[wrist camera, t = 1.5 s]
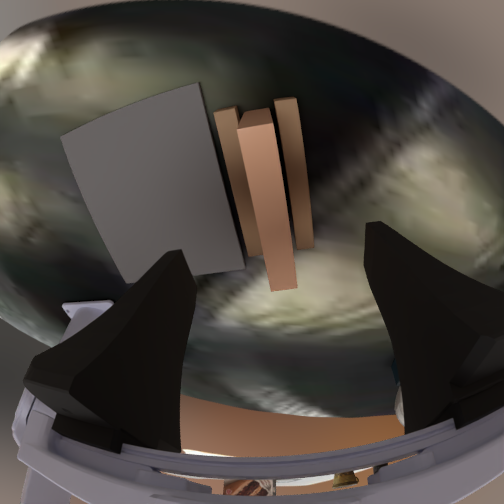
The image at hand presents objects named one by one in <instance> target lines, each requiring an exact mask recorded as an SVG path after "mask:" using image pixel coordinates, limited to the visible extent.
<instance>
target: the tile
mask: <svg viewBox="0 0 504 504" xmlns="http://www.w3.org/2000/svg"><path fill="white" fill-rule="evenodd" d="M237 133H238V138H239V142H240V147H241V152H242V156H243V161H244V165H245V170H246V174H247V179H248V184H249V188H250V193H251V198H252V202H253V207H254V212H255V216H256V221H257V226H258V231H259V235H260V240H261V245H262V250H263V255H264V259H265V264H266V269H267V274H268V279H269V284H270V288H271V291H279V290H287V289H294V288H297V279H296V271H295V263H294V255H293V247H292V239H291V232H290V225H289V218H288V211H287V204H286V197H285V191H284V184H283V178H282V172H281V165H280V159H279V153H278V147H277V142H276V136H275V130H274V125H273V121H272V117H271V113H270V110H269V108H264V109H258V110H252V111H246V112H244V114H243V116H242V118H241V121H240V123H239V125H238V127H237Z"/></svg>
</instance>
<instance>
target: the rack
mask: <svg viewBox="0 0 504 504" xmlns="http://www.w3.org/2000/svg"><path fill="white" fill-rule="evenodd" d="M273 100H274V106H275V111H276V117H277V122H278V128H279V134H280V139H281V145H282V152H283V158H284V164H285V170H286V177H287V184H288V190H289V197H290V204H291V211H292V219H293V226H294V234H295V241H296V246H297V250H300V249H308V248H314V238H313V226H312V215H311V205H310V195H309V186H308V177H307V169H306V161H305V153H304V145H303V138H302V131H301V125H300V118H299V112H298V105H297V99H296V98H295V97H286V98H278V99H273ZM214 117H215V121H216V125H217V129H218V134H219V138H220V142H221V146H222V150H223V154H224V158H225V162H226V166H227V171H228V175H229V179H230V183H231V187H232V191H233V195H234V199H235V203H236V207H237V211H238V215H239V220H240V224H241V228H242V232H243V236H244V240H245V244H246V248H247V252H248V256H249V257H250V256H257V255H263V250H262V245H261V240H260V235H259V231H258V226H257V221H256V216H255V212H254V207H253V202H252V198H251V193H250V188H249V184H248V179H247V174H246V170H245V165H244V161H243V156H242V152H241V147H240V142H239V138H238V133H237V127H238V125H239V123H240V117H239V112H238V108H237V106H232V107H227V108H222V109H218V110H216V111H215V112H214Z"/></svg>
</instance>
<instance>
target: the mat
mask: <svg viewBox="0 0 504 504" xmlns="http://www.w3.org/2000/svg"><path fill="white" fill-rule="evenodd" d="M60 138H61V141H62V144H63V147H64V150H65V153H66V155H67V158H68V161H69V163H70V166H71V169H72V171H73V174H74V176H75V179H76V181H77V184H78V186H79V189H80V191H81V194H82V196H83V198H84V200H85V203H86V205H87V207H88V209H89V212H90V214H91V216H92V218H93V220H94V223H95V225H96V227H97V229H98V231H99V233H100V235H101V237H102V239H103V241H104V243H105V245H106V247H107V249H108V251H109V253H110V255H111V257H112V258H113V260H114V262H115V264H116V266H117V268H118V269H119V271H120V273H121V275H122V277H123V278H124V280H125V282H126V283H134V282H137V281H138V280H139V279H140V278H141V277H142V276H143V275H144V274H145V273H146V272H147V271H148V270H149V269H150V268H151V267H152V266H153V265H154V264H155V263H156V262H157V261H158V260H159V259H160V258H161V257H162V256H163V255H164V254H165V253H166V252H167V251H172V250H178V249H182V251H183V254H184V256H185V259H186V261H187V264H188V266H189V269H190V271H191V274H192V276H193V275H202V274H210V273H218V272H226V271H233V270H241V269H245V268H246V265H245V261H244V257H243V254H242V250H241V246H240V242H239V238H238V234H237V231H236V227H235V223H234V219H233V215H232V211H231V207H230V203H229V199H228V196H227V192H226V188H225V184H224V180H223V176H222V172H221V168H220V164H219V160H218V156H217V152H216V148H215V144H214V140H213V136H212V132H211V128H210V124H209V120H208V116H207V112H206V108H205V104H204V100H203V96H202V91H201V87H200V83H195V84H191V85H187V86H184V87H180V88H177V89H174V90H171V91H167V92H164V93H161V94H158V95H155V96H152V97H149V98H147V99H144V100H141V101H138V102H136V103H133V104H130V105H128V106H125V107H123V108H120V109H118V110H116V111H113V112H111V113H109V114H106V115H104V116H102V117H99V118H97V119H95V120H93V121H91V122H89V123H87V124H85V125H82V126H80V127H78V128H76V129H74V130H73V131H71V132H69V133H67V134H65V135H63V136H61V137H60Z"/></svg>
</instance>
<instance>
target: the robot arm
mask: <svg viewBox="0 0 504 504" xmlns="http://www.w3.org/2000/svg"><path fill="white" fill-rule="evenodd" d="M364 268H365V272H366V275H367V279H368V282H369V285H370V288H371V291H372V293H373V295H374V298H375V300H376V303H377V305H378V307H379V310H380V312H381V315H382V317H383V320H384V322H385V325H386V327H387V330H388V333H389V336H390V339H391V342H392V346H393V350H394V355H395V359H396V364H397V369H398V374H399V380H400V386H401V394H402V402H403V412H404V428H405V435H403V436H399V437H395V438H392V439H388V440H384V441H380V442H376V443H372V444H368V445H363V446H358V447H353V448H347V449H341V450H335V451H328V452H321V453H313V454H304V455H294V456H277V457H218V456H203V455H192V454H181V440H180V389H181V376H182V365H183V359H184V353H185V349H186V345H187V340H188V336H189V332H190V328H191V324H192V319H193V315H194V310H195V304H196V293H197V286H196V283H195V281H194V278H193V276H192V274H191V271H190V269H189V266H188V264H187V261H186V259H185V256H184V254H183V251H182V249H178V250H172V251H167V252H166V253H165V254H164V255H163V256H162V257H161V258H160V259H159V260H158V261H157V262H156V263H155V264H154V265H153V266H152V267H151V268H150V269H149V270H148V271H147V272H146V273H145V274H144V275H143V276H142V277H141V278H140V279H139V280H138V281H137V282H136V283H135V284H134V285H133V286H132V287H131V288H130V289H129V290H128V291H127V292H126V293H125V294H124V295H123V296H122V297H121V298H120V299H119V300H118V301H117V302H115V303H114V302H113V301H111V300H103V301H88V302H72V303H64V304H63V305H62V307H63V309H64V310H65V311H66V313H67V314H68V315H69V317H70V318H71V321H70V323H69V325H68V327H67V329H66V331H65V333H64V335H63V337H62V339H61V341H60V343H59V344H58V345H56V346H54V347H52V348H50V349H48V350H47V351H45V352H43V353H41V354H39V355H37V356H35V357H34V358H33V360H32V362H31V364H30V366H29V368H28V370H27V373H26V375H25V377H24V379H23V383H24V386H25V389H24V392H23V395H22V396H21V399H20V402H19V404H18V407H17V410H16V413H15V419H14V422H13V425H12V430H13V437H14V439H15V441H16V442H17V444H18V446H19V447H20V448H19V451H18V455H17V458H18V459H19V460H20V461H22V462H23V463H25V464H26V465H28V470H27V474H26V478H25V482H24V487H23V491H22V496H21V502H20V504H69V503H70V499H71V495H74V496H75V497H77V498H79V499H81V500H83V501H85V502H86V503H88V504H454V503H456V502H458V501H460V500H461V499H463V498H465V497H467V496H468V495H470V494H472V493H473V492H475V491H477V490H478V489H480V488H481V487H483V486H485V485H486V484H488V483H489V482H491V481H492V480H493V479H495V478H496V477H498V476H499V475H501V474H502V473H503V472H504V292H502V291H500V290H497V289H494V288H492V287H489V286H487V285H485V284H482V283H480V282H478V281H476V280H474V279H472V278H470V277H468V276H466V275H464V274H462V273H460V272H458V271H456V270H455V269H453V268H451V267H449V266H447V265H446V264H444V263H442V262H441V261H439V260H437V259H436V258H434V257H433V256H431V255H430V254H428V253H427V252H425V251H424V250H422V249H421V248H419V247H418V246H416V245H415V244H413V243H412V242H410V241H409V240H408V239H406V238H405V237H403V236H402V235H401V234H399V233H398V232H396V231H395V230H393V229H392V228H391V227H389V226H388V225H386V224H384V223H383V222H381V221H377V222H369V223H366V230H365V251H364ZM415 454H417V455H415ZM412 455H415V456H412ZM409 456H412V457H410V458H408V459H405V460H402V461H399V462H397V463H393V464H391V465H388V466H384V467H381V468H380V469H379V472H377V473H375V474H373V475H370V476H369V477H368V485H366V486H361V487H355V488H350V489H344V490H337V491H330V492H322V493H312V494H301V495H284V496H236V495H219V494H211V493H212V488H211V487H210V486H206V485H201V484H198V483H194V482H191V481H189V480H187V479H185V478H180V477H175V476H171V475H166V474H162V473H161V472H160V471H162V472H168V473H174V474H181V475H188V476H196V477H206V478H218V479H236V480H275V479H293V478H305V477H315V476H323V475H330V474H337V473H343V472H349V471H354V470H359V469H364V468H368V467H373V466H377V465H381V464H385V463H388V462H392V461H395V460H399V459H403V458H406V457H409Z"/></svg>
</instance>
